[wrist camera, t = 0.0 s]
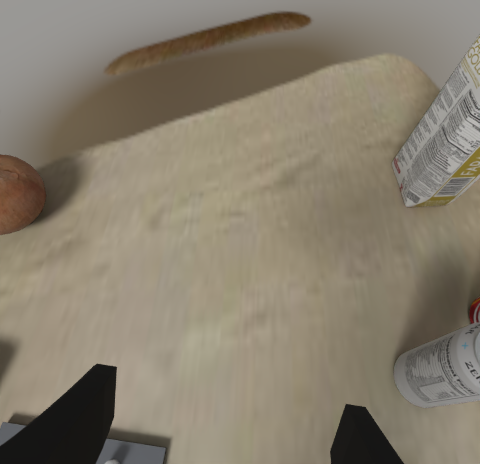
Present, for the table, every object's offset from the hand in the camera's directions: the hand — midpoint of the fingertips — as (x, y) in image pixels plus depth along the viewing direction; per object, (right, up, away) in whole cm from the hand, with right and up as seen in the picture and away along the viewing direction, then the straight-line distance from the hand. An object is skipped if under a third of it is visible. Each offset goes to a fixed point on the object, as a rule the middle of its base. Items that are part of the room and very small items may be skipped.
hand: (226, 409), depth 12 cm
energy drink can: (+20, -11, +33) cm, 40 cm away
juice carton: (+26, +12, +45) cm, 54 cm away
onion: (-27, +8, +38) cm, 47 cm away
